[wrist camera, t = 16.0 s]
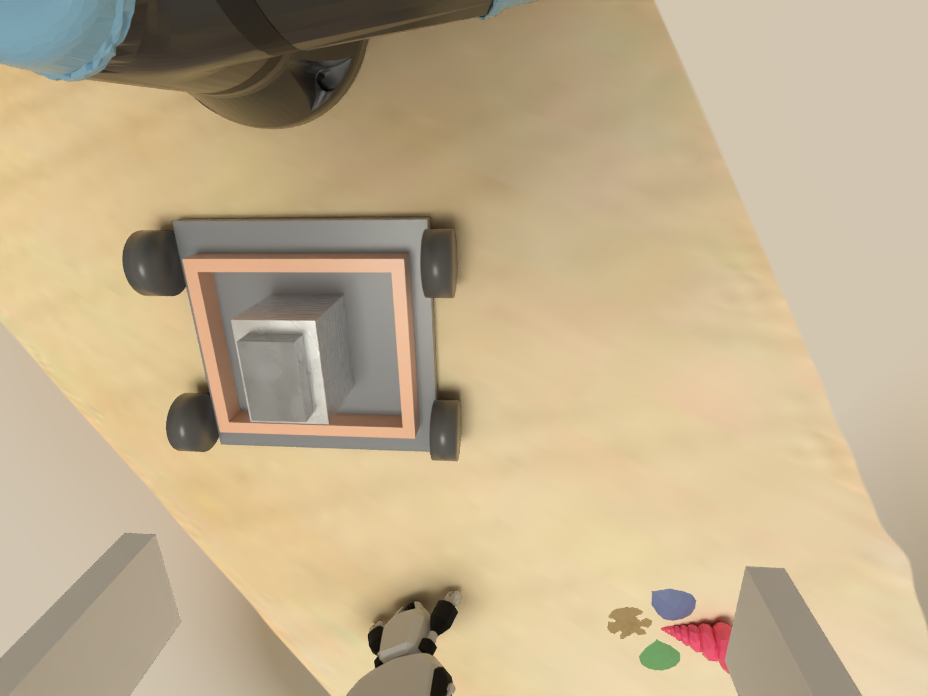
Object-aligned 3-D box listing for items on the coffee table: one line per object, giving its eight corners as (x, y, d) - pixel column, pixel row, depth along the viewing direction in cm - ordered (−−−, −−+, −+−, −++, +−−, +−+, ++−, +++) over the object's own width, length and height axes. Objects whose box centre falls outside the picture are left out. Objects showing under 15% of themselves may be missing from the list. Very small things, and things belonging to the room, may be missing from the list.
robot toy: (384, 642, 58) (341, 802, 44) (359, 614, 57) (307, 769, 43) (479, 603, 54) (466, 764, 40) (456, 573, 53) (433, 727, 39)
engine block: (271, 293, 43) (219, 327, 35) (344, 294, 42) (307, 328, 35) (286, 384, 46) (240, 432, 38) (354, 385, 45) (321, 435, 38)
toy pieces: (715, 570, 50) (733, 608, 46) (743, 651, 54) (761, 693, 50) (592, 599, 53) (599, 637, 49) (626, 675, 57) (635, 716, 52)
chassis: (157, 219, 42) (113, 229, 38) (456, 216, 40) (447, 227, 36) (207, 436, 50) (175, 467, 45) (461, 445, 48) (455, 478, 43)
